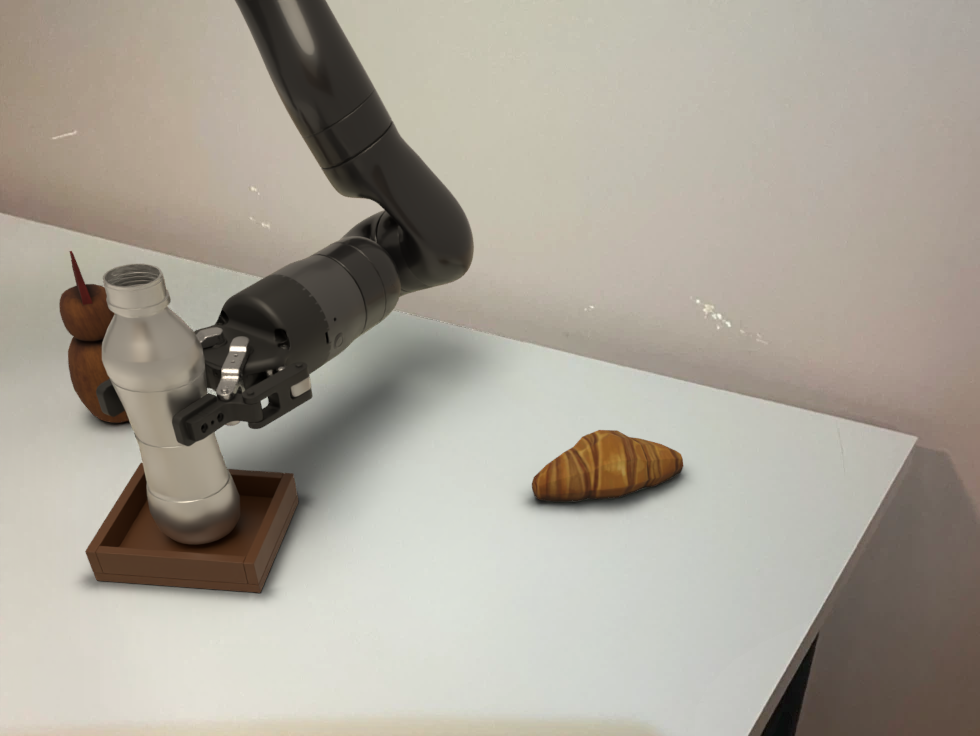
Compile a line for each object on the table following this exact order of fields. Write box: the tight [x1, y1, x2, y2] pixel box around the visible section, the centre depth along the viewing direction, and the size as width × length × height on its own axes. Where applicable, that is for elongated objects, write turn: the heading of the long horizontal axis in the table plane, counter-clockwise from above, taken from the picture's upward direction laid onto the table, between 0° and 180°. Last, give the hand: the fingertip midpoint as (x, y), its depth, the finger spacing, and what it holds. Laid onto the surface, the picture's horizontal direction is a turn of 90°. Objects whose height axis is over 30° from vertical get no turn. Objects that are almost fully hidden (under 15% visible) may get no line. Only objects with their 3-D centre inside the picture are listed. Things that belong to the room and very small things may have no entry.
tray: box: [84, 462, 300, 594], centre depth 79 cm, size 13×12×3 cm
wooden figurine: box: [58, 250, 130, 424], centre depth 87 cm, size 7×6×15 cm
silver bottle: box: [102, 263, 240, 545], centre depth 72 cm, size 6×7×20 cm
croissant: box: [531, 429, 684, 503], centre depth 84 cm, size 14×7×5 cm, turn 109°
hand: (140, 418), depth 70 cm, fingers open, 6 cm apart
